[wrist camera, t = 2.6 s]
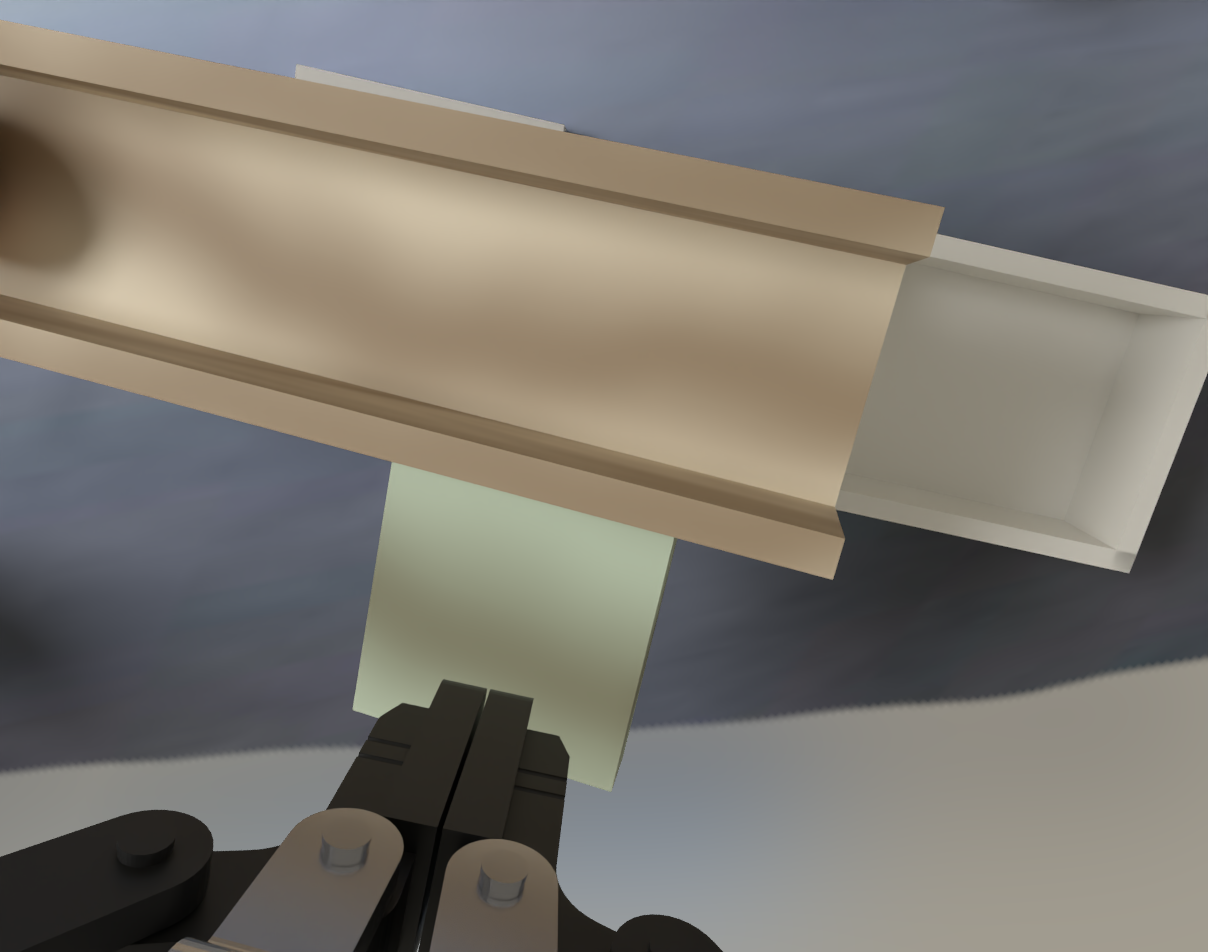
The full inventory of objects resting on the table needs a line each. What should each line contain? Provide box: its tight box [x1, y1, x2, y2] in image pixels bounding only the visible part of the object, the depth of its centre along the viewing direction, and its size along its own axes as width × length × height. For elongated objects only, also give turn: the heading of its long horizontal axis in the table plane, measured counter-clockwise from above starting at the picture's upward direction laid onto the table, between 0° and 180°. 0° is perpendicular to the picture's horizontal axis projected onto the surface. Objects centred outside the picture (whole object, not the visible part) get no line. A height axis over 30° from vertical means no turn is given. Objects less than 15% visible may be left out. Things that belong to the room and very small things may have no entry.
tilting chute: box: [0, 20, 945, 792], centre depth 19 cm, size 13×24×6 cm, turn 78°
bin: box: [835, 234, 1208, 573], centre depth 25 cm, size 8×11×4 cm
